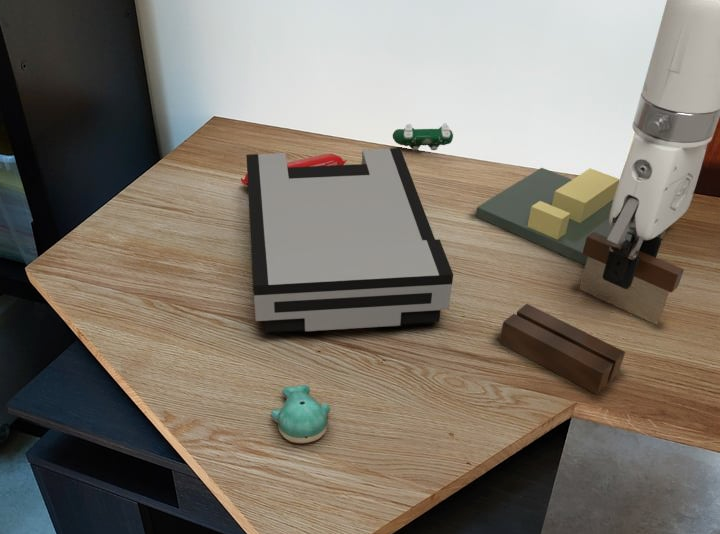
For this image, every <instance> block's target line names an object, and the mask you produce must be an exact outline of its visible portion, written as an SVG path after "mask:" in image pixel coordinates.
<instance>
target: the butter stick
mask: <svg viewBox="0 0 720 534" xmlns="http://www.w3.org/2000/svg"><path fill="white" fill-rule="evenodd" d="M572 179H573V180H571V181H570V182H568V183H567V184H565V185H564V186H562V187H560V188H559V189H557V190H556V191H555V193H554V198H553V203H552V206H554V207H556V208H559V209H561V210H564V211H566V212H568V213H570V217H569V219H571V220H573V221H576V222H578V223H581V222H582V221H584V220H585V219H587V218H588V217H589V216H591V215H592V214H594V213H595V212H596V211H598V210H599V209H601V208H602V207H603V206H605V205H606V204H608V203H609V202H610V201H612V200H613V199H614V196H615V193H616V189H617V186H618V183H619V180H620V178H617V177H614V176H612V175H610V174H607V173H604V172H601V171H598V170H596V169H593V168H588V169H586V170H585V171H583V172H582V173H581V174H579V175H577V176H576V177H574V178H572Z"/></svg>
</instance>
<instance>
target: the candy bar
mask: <svg viewBox="0 0 720 534" xmlns="http://www.w3.org/2000/svg"><path fill="white" fill-rule="evenodd" d="M347 161H348V159H345V160H343V158H342V157H341V156H340V155H336V154H335V153H334V154H333V153H325V154H319V155H314V156H310V157H306V158H302V159H298V160H293V161H288V162H287V167H309V166H332V165H345V164H346V163H347ZM240 181H241V183H242V185H246V186H248V176H247V173H245V175H244V178H243V177H240Z"/></svg>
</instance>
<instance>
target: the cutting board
mask: <svg viewBox="0 0 720 534" xmlns="http://www.w3.org/2000/svg"><path fill="white" fill-rule="evenodd" d="M573 179H574V178H570V177H568V176H565V175H562V174H560V173H557V172H554V171H552V170H549V169H546V168H544V167H540V168H538V169H536V171H533V172H532V173H530V174H529V175H527V176H526V177H523V178H522V179H520V180H519V181H517V182H516V183H514V184H512V185H511V186H509V187H507V188H506V189H504V190H502V191H500V192H499V193H498V194H496V195H494V196H492V197H491V198H489V199H488V200H486V201H484V202H483V203H481V204H479V205H477V206H476V210H475V217H476V218H478V219H480V220H482V221H485V222H486V223H488V224H491V225H493V226H496V227H497V228H500V229H502V230H505V231H507V232H510V233H512V234H514V235H516V236H518V237H521V238H523V239H525V240H528V241H530V242H532V243H534V244H536V245H539V246H541V247H543V248H545V249H548V250H550V251H553V252H555V253H557V254H559V255H561V256H564V257H566V258H568V259H570V260H572V261H575V262H578V263H579V264H582V265H584V266H585V265H586V262H587V258H588V256H586V255H583V254H582V253H583V249H584V246H585V242H586V238H587V236H588V235H590V234H591V233H592V232H595V233H598V234H600V235H603V236H605V237H607V238H608V236H609V234H610V233H611V231H612V229H613V227H612V226H611V225H610V222H609V217H610V211H611V207H612V203H613V200H614V199H613V200H612V201H610V202H609V203H608V204H606V205H605V206H603V207H602V208H601V209H599V210H598V211H596V212H595V213H594V214H592V215H591V216H589V217H588V218H587V219H585V220H584V221H582V222H581V223H578V222H576V221H573V220H571V219H569V221H568V225H567V230H566V234H565V235H563V236H562V237H560V238H559V239H558V240H557V239H554V238H552V237H550V236H548V235H545V234H543V233H541V232H538V231H536V230H534V229H531V228H529V227H527V226H528V221H529V216H530V211H531V206H533V205H534V204H536V203H537V202H539V201H542V202H544V203H546V204H549V205H551V206H552V203H553V198H554V193H555V191H556V190H557V189H559V188H560V187H562V186H564V185H565V184H567V183H568V182H570V181H571V180H573ZM631 226H634V227H636V224H635V223H632V225H631ZM631 237H632V235H630V234H628V233H627V235H626V240H628V241H630V240H631Z"/></svg>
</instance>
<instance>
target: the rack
mask: <svg viewBox="0 0 720 534" xmlns="http://www.w3.org/2000/svg"><path fill="white" fill-rule="evenodd" d="M501 327H502V328H501V332H500V337H499V342H498V343H499V344H500V345H503V346H504V347H506V348H508V349H510V350H512V351H513V352H515V353H517V354H519V355H521V356H523V357H524V358H527V359H528V360H530V361H532V362H534V363H535V364H538V365H540V366H541V367H544V368H545V369H547V370H549V371H550V372H553V373H554V374H557V375H559V376H561V377H562V378H564V379H566V380H568V381H570V382H572V383H573V384H575V385H577V386H579V387H581V388H583V389H585V390H586V391H589V392H590V393H592V394H594V395H597V394H598V393H600V392H602V391H601V390H603V389H604V388H605V387H606V386H607V383H610V382H611V381H612V380H613V379H615V377H616V376H617V375H618V374H619V372H620V369H621V366H622V365H623V361H624V358H625V355H626V351H625V350H622V349H620V348H619V347H616V346H614V345H612V344H610V343H608V342H606V341H604V340H602V339H600V338H598V337H596V336H594V335H591V334H590V333H588V332H586V331H583V330H581V329H579V328H577V327H576V326H573V325H571V324H569V323H567V322H566V321H563V320H561V319H559V318H557V317H555V316H553V315H551V314H549V313H547V312H545V311H543V310H541V309H539V308H537V307H535V306H532V305H531V304H528V303H526V304H525V305H523V306H522V307H520V308H519V309H518V310H517V311H516V314H515V313H513V314H511V315H510V316H509V317H508V318H506V319H505V320H503V322H502V326H501Z"/></svg>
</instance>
